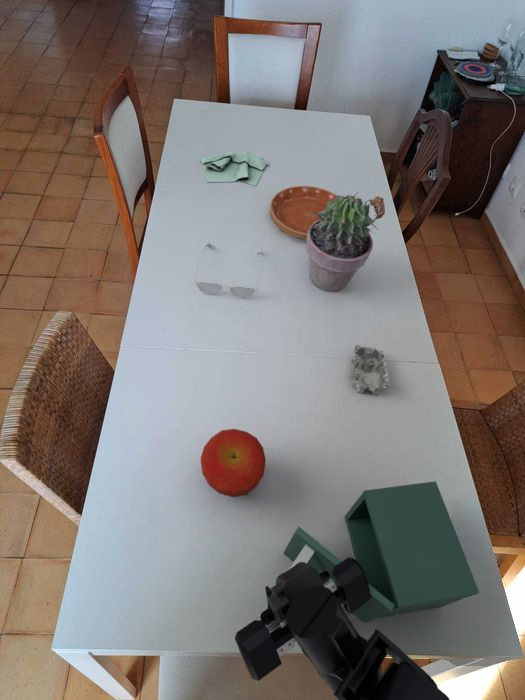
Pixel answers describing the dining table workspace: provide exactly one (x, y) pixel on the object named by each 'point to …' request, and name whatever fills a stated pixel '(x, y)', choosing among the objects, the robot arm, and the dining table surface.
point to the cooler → (409, 547)
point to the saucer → (299, 208)
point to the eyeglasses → (215, 288)
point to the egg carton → (369, 370)
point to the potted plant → (340, 241)
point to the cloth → (234, 167)
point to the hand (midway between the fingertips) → (278, 581)
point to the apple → (233, 462)
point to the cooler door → (323, 560)
